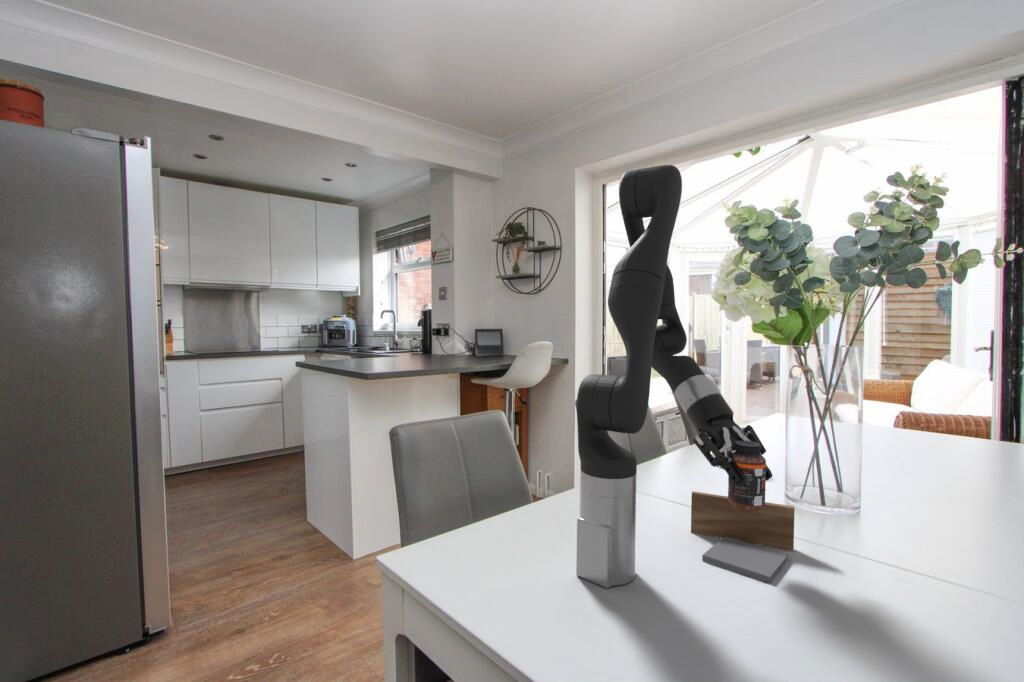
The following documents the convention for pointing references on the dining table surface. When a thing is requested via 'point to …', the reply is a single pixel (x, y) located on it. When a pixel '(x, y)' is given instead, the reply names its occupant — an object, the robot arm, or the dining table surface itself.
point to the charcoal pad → (746, 558)
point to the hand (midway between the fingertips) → (755, 481)
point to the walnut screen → (743, 521)
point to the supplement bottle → (748, 477)
